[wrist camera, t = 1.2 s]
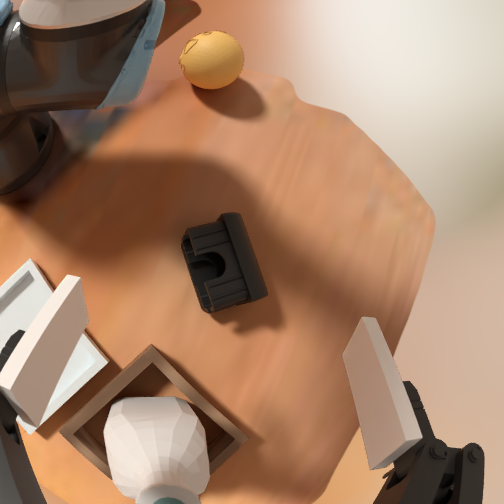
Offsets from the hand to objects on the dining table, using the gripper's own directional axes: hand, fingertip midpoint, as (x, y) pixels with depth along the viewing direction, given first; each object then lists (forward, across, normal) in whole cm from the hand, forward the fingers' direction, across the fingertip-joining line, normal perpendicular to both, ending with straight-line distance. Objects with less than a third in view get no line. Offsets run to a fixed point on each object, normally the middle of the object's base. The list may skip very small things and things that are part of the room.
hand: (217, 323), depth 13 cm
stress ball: (+43, -8, +11) cm, 45 cm away
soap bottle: (+6, -6, -26) cm, 27 cm away
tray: (+8, -22, -18) cm, 30 cm away
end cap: (+22, -1, -12) cm, 25 cm away
